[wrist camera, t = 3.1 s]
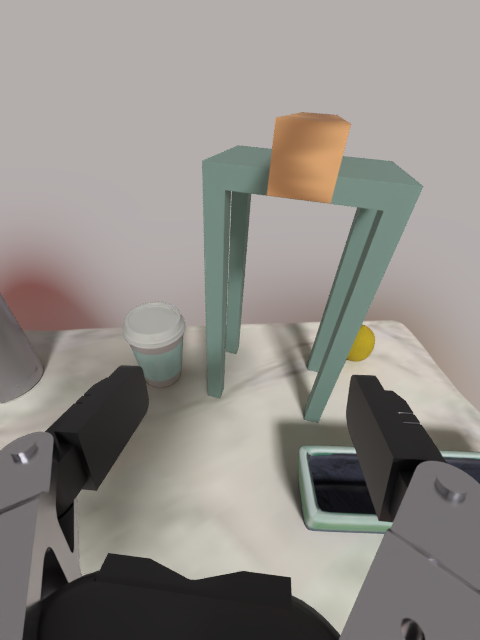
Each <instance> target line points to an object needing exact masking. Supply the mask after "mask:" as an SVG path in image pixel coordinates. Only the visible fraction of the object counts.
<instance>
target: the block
mask: <svg viewBox="0 0 480 640" xmlns="http://www.w3.org/2000/svg"><path fill="white" fill-rule="evenodd" d="M350 125H351V124H350V123H349V122H347V121H345V120H344V119H342V118H341V117H339V116H338V115H330V114H317V113H304V112H302V113H297V114H291V115H287V116H282V117H276V120H275V130H274V137H273V146H272V155H271V163H270V172H269V181H268V189H267V195H268V196H276V197H284V198H291V199H299V200H307V201H314V202H322V203H330V204H331V200H332V196H333V192H334V188H335V184H336V180H337V176H338V172H339V169H340V165H341V161H342V157H343V153H344V149H345V145H346V141H347V137H348V133H349V130H350Z"/></svg>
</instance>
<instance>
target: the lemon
mask: <svg viewBox="0 0 480 640" xmlns="http://www.w3.org/2000/svg"><path fill="white" fill-rule="evenodd" d="M374 344H375V336H374V333H373V332H372V330H371V329H370V328H368V327H367V326H365V325H361V327H360V329H359V332H358V334H357V336H356V338H355V341H354V343H353V345H352V347H351V350H350V352H349V354H348V356H347V359H348V360H350V361H361V360H364V359H365V358H367V357H368V356H369V355H370V354H371V352H372V350H373V348H374Z"/></svg>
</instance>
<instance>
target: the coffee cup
mask: <svg viewBox="0 0 480 640" xmlns="http://www.w3.org/2000/svg"><path fill="white" fill-rule="evenodd" d="M184 330H185V322H184V319H183V316H182V315H181V314H180V312H179V310H178V309H177V308H176V307H175V306H173V305H171V304H168V303H164V302H150V303H145V304H142V305H139V306H137V307H135V308H134V309H132V310H131V311H130V312H129V313H128V314H127V316H126V318H125V323H124V326H123V335H124V338H125V340H126V341H127V342H128V343H129V344H130V346H131V348H132V351H133V353H134V355H135V357H136V359H137V362H138V364H139V366H140V367H142V369H143V372H144V377H145V379H146V381H147V383H148V384H150V385H151V386H154V387H160V388H161V387H167V386H170V385H172V384H173V383H175V382H176V381H177V380H178V379H179V377H180V375H181V363H182V345H183V333H184Z"/></svg>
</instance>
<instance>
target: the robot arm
mask: <svg viewBox="0 0 480 640" xmlns="http://www.w3.org/2000/svg"><path fill="white" fill-rule="evenodd" d="M42 374H43V365H42V363H41V361H40V360H39V358H38V356H37V355H36V353H35V351H34V349H33V348H32V346H31V344H30V342H29V341H28V339H27V337H26V336H25V334H24V332H23V331H22V329H21V327H20V325H19V324H18V322H17V320H16V319H15V317H14V315H13V314H12V312H11V310H10V309H9V307H8V305H7V304H6V302H5V300H4V298H3V297H2V295H1V294H0V403H3V402H7V401H10V400H12V399H15V398H17V397H19V396H21V395H22V394H24V393H26V392H27V391H29V390H30V389H31V388H32V387H33V386H34V385H35V384H36V383H37V382H38V381H39V379H40V378H41V376H42ZM148 405H149V398H148V392H147V387H146V382H145V377H144V372H143V369H142V367H140V366H119V367H118V368H117V369H116V370H115V371H114V372H113V373H112V374H111V375H110V376H109V377H108V378H105V379H103V380H101V381H100V382H98V383H96V384H95V385H93V386H92V387H91V388H90V389H89V390H88V391H87V392H86V393H85V394H84V396H82V397H81V398H80V399H79V400H78V401H76V404H73V405H72V406H71V407H70V408H69V409H68V410H67V411H66V412H65V413H64V414H63V415H62V416H61V417H60V418H59V419H58V420H57V421H56V422H55V423H53V424H52V425H51V426H50V427H49V428H48V429H47V430H46V431H45V432H35V433H31V434H28V435H25V436H22V437H20V438H18V439H16V440H14V441H13V442H11V443H9V444H8V445H7V446H5V447H4V448H3V449H2V450H1V451H0V640H480V484H479V483H478V482H477V481H476V480H475V479H474V478H472V477H471V476H470V475H468V474H467V473H465V472H464V471H462V470H460V469H458V468H457V467H454V466H452V465H450V464H448V463H447V462H446V460H445V459H444V457H443V456H442V454H441V453H440V451H439V450H438V448H437V447H436V446H435V444H434V443H433V441H432V440H431V438H430V437H429V435H428V434H427V432H426V431H425V429H424V428H423V426H422V425H420V422H419V420H418V419H417V417H416V416H415V415H413V411H412V410H411V408H410V407H409V405H408V404H407V402H406V401H405V400H404V399H402V398H401V397H400V396H398V395H397V394H396V393H395V392H393V391H387V390H384V389H383V387H382V385H381V384H380V382H379V380H378V379H377V377H376V376H371V375H352V376H351V380H350V387H349V394H348V401H347V409H346V419H347V426H348V429H349V432H350V435H351V438H352V441H353V444H354V448H355V451H356V454H357V457H358V460H359V463H360V466H361V469H362V472H363V475H364V478H365V481H366V484H367V487H368V490H369V493H370V496H371V499H372V503H373V506H374V509H375V512H376V515H377V518H378V521H383V522H393V524H392V526H391V528H388V529H387V531H386V533H385V535H384V537H383V539H382V542H381V544H380V546H379V549H378V551H377V553H376V555H375V558H374V560H373V562H372V565H371V567H370V569H369V572H368V574H367V576H366V578H365V581H364V583H363V585H362V588H361V590H360V592H359V595H358V597H357V599H356V601H355V604H354V606H353V608H352V611H351V613H350V615H349V618H348V620H347V622H346V624H345V627H344V629H343V631H342V634H341V636H340V634H339V633H338V632H337V631H336V630H335V628H334V627H333V626H332V625H331V624H330V623H329V622H328V621H327V620H326V619H325V618H324V617H323V616H322V615H321V614H319V613H318V612H317V611H316V610H315V609H314V608H312V607H311V606H309V605H308V604H306V603H305V602H303V601H302V600H300V599H298V598H296V597H294V596H292V595H291V577H283V576H276V575H268V574H261V573H253V572H246V571H241V572H236V573H230V574H225V575H220V576H215V577H209V578H204V579H199V580H190V579H187V578H185V577H184V576H182V575H180V574H178V573H176V572H174V571H172V570H170V569H169V568H167V567H165V566H163V565H161V564H159V563H157V562H155V561H154V560H152V559H149V558H141V557H134V556H126V555H119V554H111V553H108V555H107V557H106V559H105V561H104V563H103V565H102V567H101V569H100V571H96V572H93V573H90V574H87V575H84V576H82V575H81V570H80V563H79V527H78V501H77V499H76V496H77V495H78V494H79V492H80V491H81V489H85V490H95V491H97V489H98V488H99V486H100V485H101V483H102V481H103V480H104V478H105V477H106V475H107V474H108V472H109V471H110V469H111V467H112V466H113V464H114V463H115V461H116V460H117V458H118V457H119V455H120V453H121V452H122V450H123V449H124V447H125V446H126V444H127V442H128V441H129V439H130V438H131V436H132V435H133V433H134V432H135V430H136V428H137V427H138V425H139V424H140V422H141V421H142V419H143V418H144V416H145V414H146V412H147V410H148Z"/></svg>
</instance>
